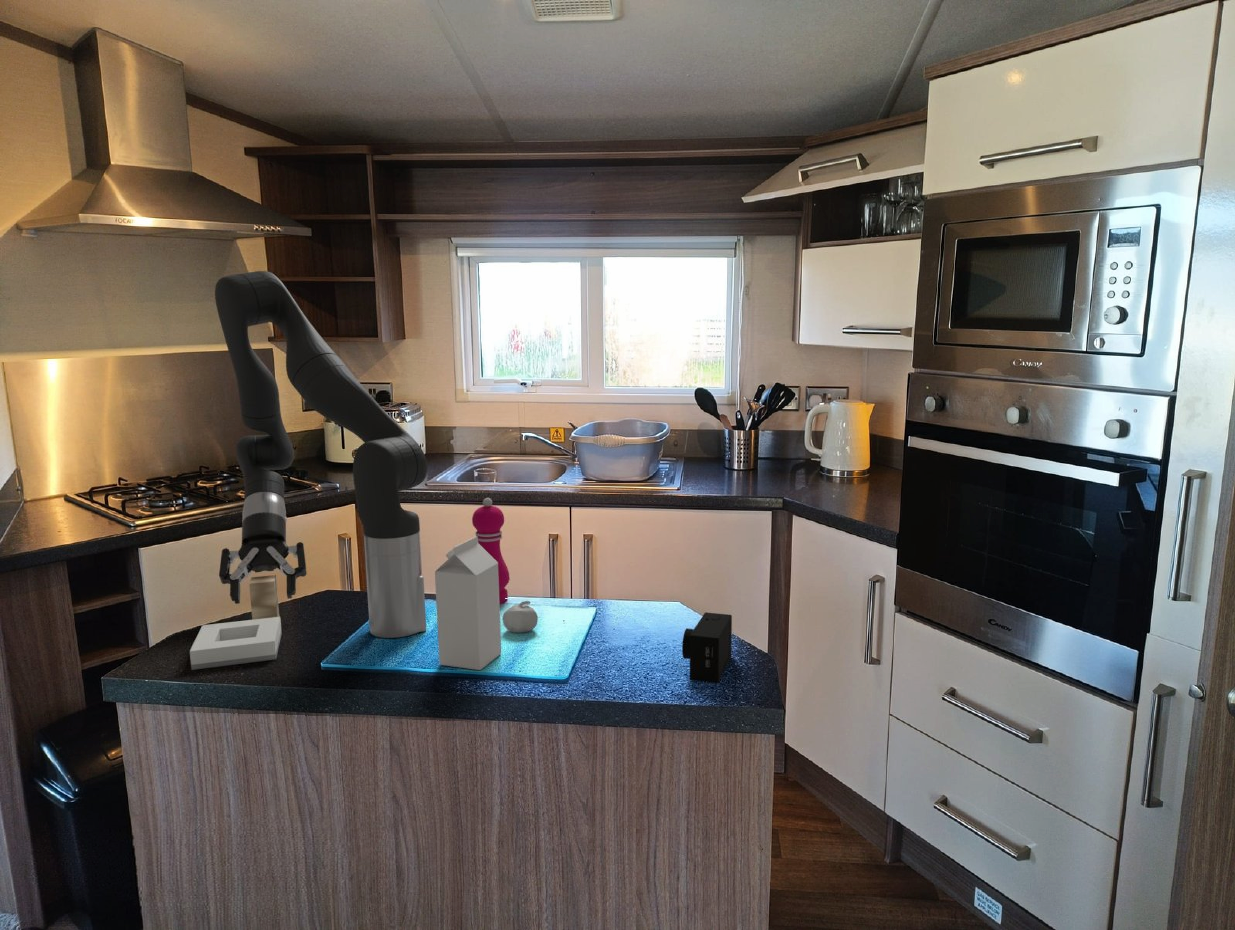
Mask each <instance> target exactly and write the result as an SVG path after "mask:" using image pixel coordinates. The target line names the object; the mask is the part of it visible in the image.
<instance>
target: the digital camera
mask: <svg viewBox="0 0 1235 930" xmlns="http://www.w3.org/2000/svg"><path fill="white" fill-rule="evenodd" d="M732 619H733V617H732V614H726V613H716V612H715V613H714V612H704V613H703V615H702V616H701V618H700V619H699V621H698V623H697V624H696V626H695V627H694V628H685V630H684V633H683V637H682V642H681V644H682V647H681V652H682V653H681V654H682V657H683V659H688V660H689V680H691V681H697V682H706V683H712V684H713V683H714V684H719V682H720V681H721V678H722V677H723V675H724V674H725V670H726V669H727V667H728V665H729V662H730V660H731V659H732V649H733V648H732V645H733V644H732V632H733V626H732V624H733V623H732V622H733V620H732Z"/></svg>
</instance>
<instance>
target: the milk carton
mask: <svg viewBox="0 0 1235 930" xmlns="http://www.w3.org/2000/svg"><path fill="white" fill-rule="evenodd" d="M445 556H446V558H447V560H445V562H444V563H442V564H441V565H440V566H439V567H438V568H437V569H436V570H435V571H434V580H435V581H434V582H435V604H436V621H437V622H436V624H437V642H438V646H437V647H438V663H439V665H440V666H446V667H447V666H448V667H454V668H461V669H462V668H463V669H468V670H469V669H470V670H476V671H481V670H482V669H483V668H485V667H486V666H487V665H489V664H490V663H491V662H492V661H494V660H495V659H496V658H498V657H499V656H500V655H501V654H502V637H501V636H502V634H501V633H502V632H501V611H500V610H501V609H500V607H501V606H500V605H501V604H500V603H499V576H498V562H497V561H496V560H495V559H494V558H493V557H492V556H491V555H490V554H489V553H488V552H487V551H486V550H485V549H484V548H483V547H482V546H481V545H480V544H479V543H478V536H476V535H475V536H474V537H472V538H470V539H468V540H465V541H464V542H461V543H459V544H457V545H455V546H453V548H452V549H451V550H449V551H448V552H447V553H446V554H445Z"/></svg>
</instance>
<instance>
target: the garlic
mask: <svg viewBox="0 0 1235 930" xmlns="http://www.w3.org/2000/svg"><path fill="white" fill-rule="evenodd" d="M530 604H531V601H530V600H523V601H521V602H520V603H519V604H514V605H512V606H511V607H508V609H507V610H505V611H504V612H503V615H502V623H503V626H504V628H505V629H507V630H508V631H509V632H511V633H516V634H517V633H519V634H520V633H521V634H522V633H523V634H524V633H528V632H531V631H533V629H535V628H536V627H537V626H538V620H539V619H538V613H537V612H536V610H535V609H534V608H533V607H531V606H530Z"/></svg>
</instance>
